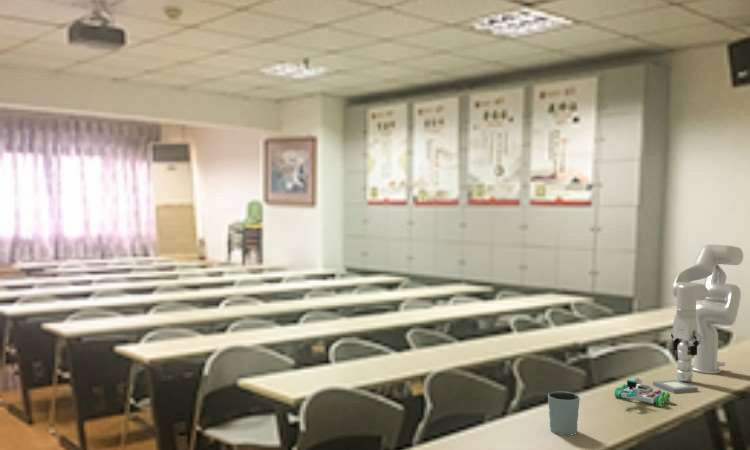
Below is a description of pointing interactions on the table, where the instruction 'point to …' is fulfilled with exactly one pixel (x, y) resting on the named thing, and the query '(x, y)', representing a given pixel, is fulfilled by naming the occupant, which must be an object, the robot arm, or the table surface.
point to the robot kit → (642, 392)
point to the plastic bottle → (684, 362)
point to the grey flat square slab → (675, 386)
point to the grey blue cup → (563, 412)
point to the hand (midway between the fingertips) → (684, 352)
